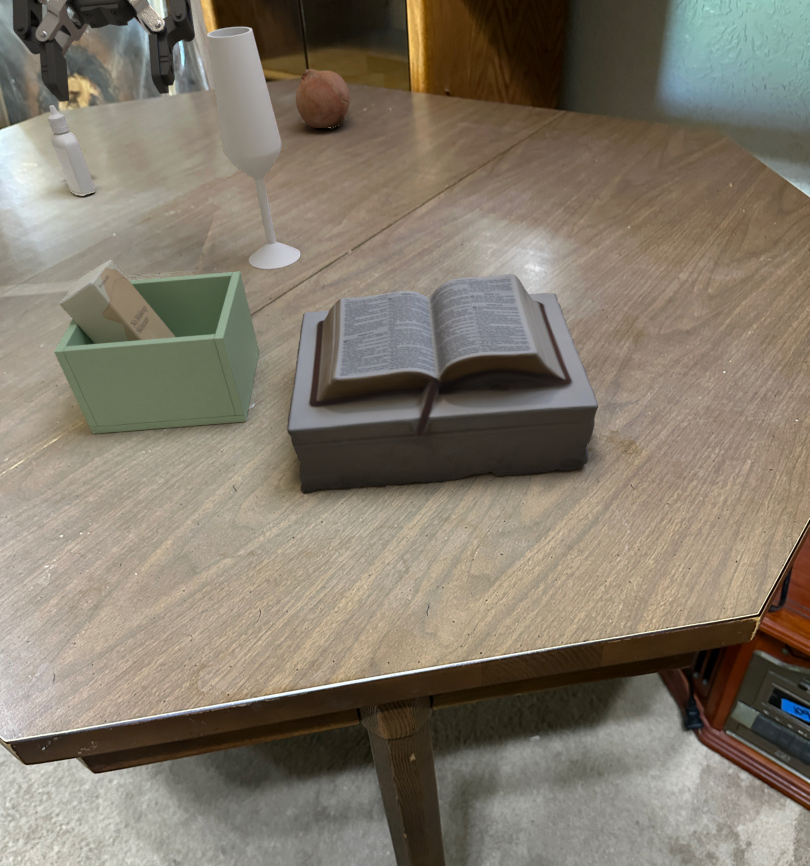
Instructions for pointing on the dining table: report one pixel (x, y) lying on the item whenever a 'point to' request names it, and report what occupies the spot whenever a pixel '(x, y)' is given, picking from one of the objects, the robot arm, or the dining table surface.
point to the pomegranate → (322, 98)
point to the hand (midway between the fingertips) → (110, 92)
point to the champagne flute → (248, 126)
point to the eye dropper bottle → (69, 154)
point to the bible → (438, 387)
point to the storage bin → (169, 360)
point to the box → (112, 308)
